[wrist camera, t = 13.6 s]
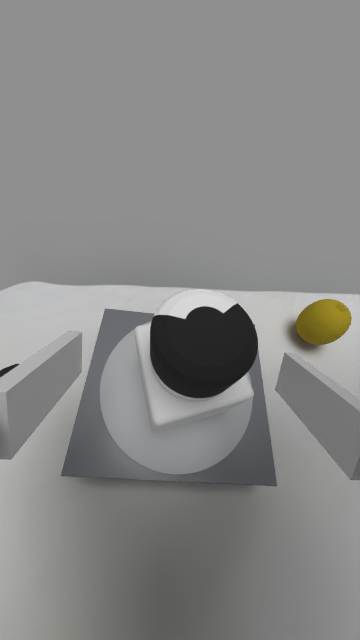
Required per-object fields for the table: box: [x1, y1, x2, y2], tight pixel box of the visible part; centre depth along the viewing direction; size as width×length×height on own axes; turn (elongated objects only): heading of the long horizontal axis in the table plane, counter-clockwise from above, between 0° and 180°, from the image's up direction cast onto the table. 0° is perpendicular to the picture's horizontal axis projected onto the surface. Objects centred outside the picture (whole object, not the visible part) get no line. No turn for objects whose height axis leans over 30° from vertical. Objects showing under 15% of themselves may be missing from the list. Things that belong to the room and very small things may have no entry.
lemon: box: [296, 299, 351, 345], centre depth 30 cm, size 6×6×8 cm
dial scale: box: [61, 309, 277, 486], centre depth 25 cm, size 18×17×6 cm
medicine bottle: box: [134, 289, 258, 433], centre depth 17 cm, size 7×7×12 cm
